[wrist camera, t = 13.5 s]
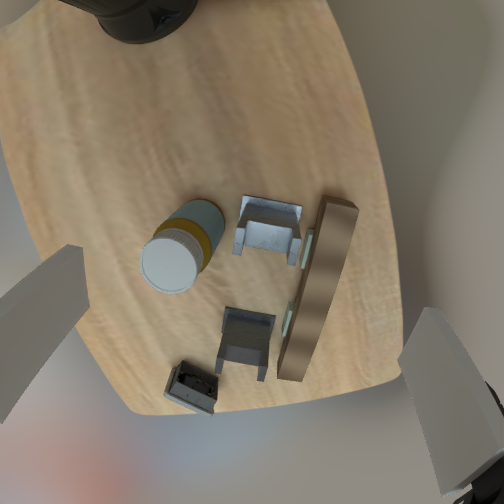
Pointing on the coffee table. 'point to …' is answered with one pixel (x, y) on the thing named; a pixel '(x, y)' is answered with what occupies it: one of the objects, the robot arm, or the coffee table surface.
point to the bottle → (182, 246)
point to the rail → (317, 285)
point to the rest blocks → (302, 264)
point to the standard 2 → (269, 227)
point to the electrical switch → (192, 389)
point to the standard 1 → (245, 339)
